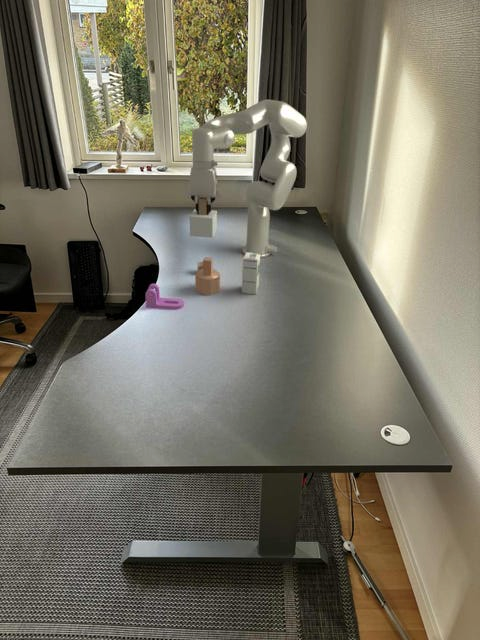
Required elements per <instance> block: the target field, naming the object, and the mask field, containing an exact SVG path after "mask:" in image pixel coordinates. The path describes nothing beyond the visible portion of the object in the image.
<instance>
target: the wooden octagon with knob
mask: <svg viewBox="0 0 480 640" xmlns="http://www.w3.org/2000/svg"><path fill="white" fill-rule="evenodd" d="M213 261H214V258H213V257H208V256H207V257H206V256H204V257H203V259H202V262H203V269H201V270H198V269H197V271H196V272H195V278H194V282H195V283H194V285H195V292H197V294H200V295H204V296H212V295H215V294H218V293H219V292H220V290H221V273H220V272H219V271H218V270H217V269H214V268H213V267H214V266H213V263H214V262H213Z"/></svg>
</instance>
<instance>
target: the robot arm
mask: <svg viewBox="0 0 480 640" xmlns="http://www.w3.org/2000/svg"><path fill="white" fill-rule="evenodd" d="M307 123H308V122H307V119H306V117H305V116H304V115H303V114H302V113H300V112H299V111H298V110H296V109H295V108H294V107H293V106H291V105H289V104H288V103H286V102H285V101H281V100H273V99H263V100H261V101H259V102H257V103H254V104H253V105H251V106H249V107H247V108H245V109H243V110H240V111H236V112H231V113H229V114H223V115H220V116H217V117H214V118H212V119H210V120H208V121H206V122H204V123H203V124H202V126H201V127H197V128H194V129H193V130H192V134H191V135H192V137H191V138H192V139H191V140H192V142H191V143H192V166H191V168H190V173H189V184H188V185H189V187H188V190H187V191H186V194H185V196H187V197H188V198H190V199H191V200H192V201H193V202H194V204H195V209H196V211H197V214H199V198H200V197H207V201H208V202H207V215H209V213H210V212H211V210H212V204H213V203H214V201H216V200H218V199H221V197H222V196H221V193H220V191H219V189H218V175H217V169H216V167H217V166H218V162H216V161H215V160H214V150H226V149H229V148H230V147H232V146H233V144H234V142H235V140H236V139H235V138H236V137H235V135H247V134H248V135H249V134H252V133H254V132H255V131H257V130H259V129H261V128H262V127H265V126H267V125H268V126H269V131H270V135H271V142H270V146H269V149H268V150H267V153H266V155H265V157H264V159H263V162H262V164H261V167H260V170H259V174H260V176H261V178H262V179H264V180H266V181H268V182H270V183H268V182H265V181H261V180H254V181H253V182H252V181H251V182H250V183H249V184H248V186H247V188H246V194H245V195H246V202H247V223H246V224H247V225H246V241H245V242H246V245H245V246H244V247H242V254H243V255H245V254H246V252H247V253H258V254H260V259H261V258H266V257H268V256H270V255H271V252H275V253H277V252H278V247H277V246H276V245H274V244H273V245H271V244H270V242H269V231H270V218H271V216H270V215H271V214H270V210H271V211H279V210H280V209H282V207H283V206H284V205H285V203H286V201H287V199H288V196H289V194H290V192H291V190H292V188H293V186H294V183H295V182H296V178H297V172H298V171H297V167H296V166H295V164H294V163H293V162H290V161H288V158H289V155H290V152H291V142H290V138H289V137H291V138H300V137H302V136H304V135H305V133H306V131H307V127H308V124H307ZM271 182H272V183H274V184H271Z"/></svg>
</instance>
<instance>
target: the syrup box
mask: <svg viewBox="0 0 480 640" xmlns="http://www.w3.org/2000/svg"><path fill="white" fill-rule="evenodd" d="M243 255H244V256H243V258H242V269H241V270H242V271H241V273H242V274H241V276H242V277H241V293H243V294H249V295H257V294H258V290H259V288H260V273H261V272H260V270H261V269H260V268H261V258H260V254H258V253H247V252H246V254H243Z"/></svg>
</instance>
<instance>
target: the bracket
mask: <svg viewBox="0 0 480 640" xmlns="http://www.w3.org/2000/svg"><path fill="white" fill-rule="evenodd" d="M159 286H160V285H159V284H156V283H150V285H148V288H147V290H146V292H145V308H150V309H160V310H161V309H163V310H164V309H165V310H181V309H183V308H184V307H185V302H184V300H183V299H181V298H180V299H179V298H169V297H161V296H160V295H161V293H160V287H159Z"/></svg>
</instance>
